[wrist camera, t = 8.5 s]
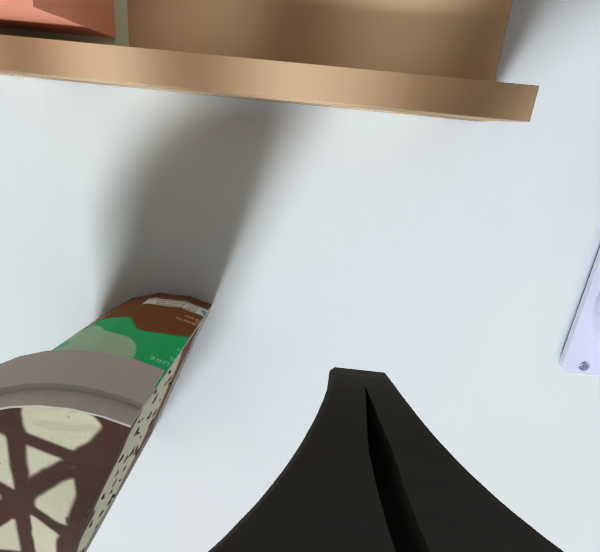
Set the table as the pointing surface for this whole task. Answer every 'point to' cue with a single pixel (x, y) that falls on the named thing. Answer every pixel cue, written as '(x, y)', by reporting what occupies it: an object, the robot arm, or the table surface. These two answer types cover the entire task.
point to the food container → (86, 419)
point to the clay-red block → (60, 16)
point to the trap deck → (295, 54)
